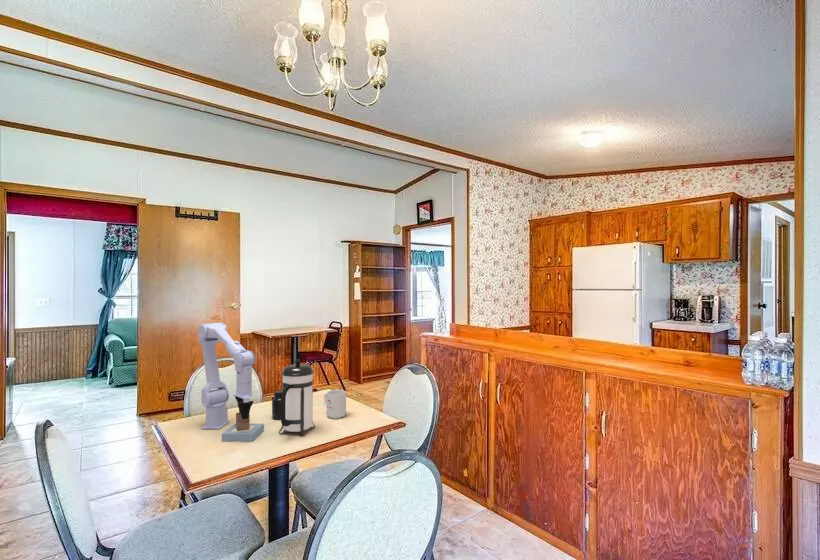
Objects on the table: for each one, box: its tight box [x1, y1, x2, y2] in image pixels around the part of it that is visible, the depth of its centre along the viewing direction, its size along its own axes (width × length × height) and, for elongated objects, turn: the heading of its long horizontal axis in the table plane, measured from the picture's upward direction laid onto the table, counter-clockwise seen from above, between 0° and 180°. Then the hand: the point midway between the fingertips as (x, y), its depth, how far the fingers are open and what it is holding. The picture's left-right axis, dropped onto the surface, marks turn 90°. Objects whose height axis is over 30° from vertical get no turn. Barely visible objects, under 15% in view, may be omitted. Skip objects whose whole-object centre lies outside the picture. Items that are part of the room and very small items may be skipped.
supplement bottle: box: [271, 389, 282, 421], centre depth 190 cm, size 7×7×12 cm
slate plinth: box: [221, 422, 265, 443], centre depth 167 cm, size 12×12×3 cm
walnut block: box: [235, 411, 251, 431], centre depth 167 cm, size 4×4×6 cm
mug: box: [323, 389, 347, 419], centre depth 194 cm, size 12×9×11 cm
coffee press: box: [278, 358, 316, 437], centre depth 172 cm, size 17×16×30 cm
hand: (243, 416), depth 167 cm, fingers open, 7 cm apart
